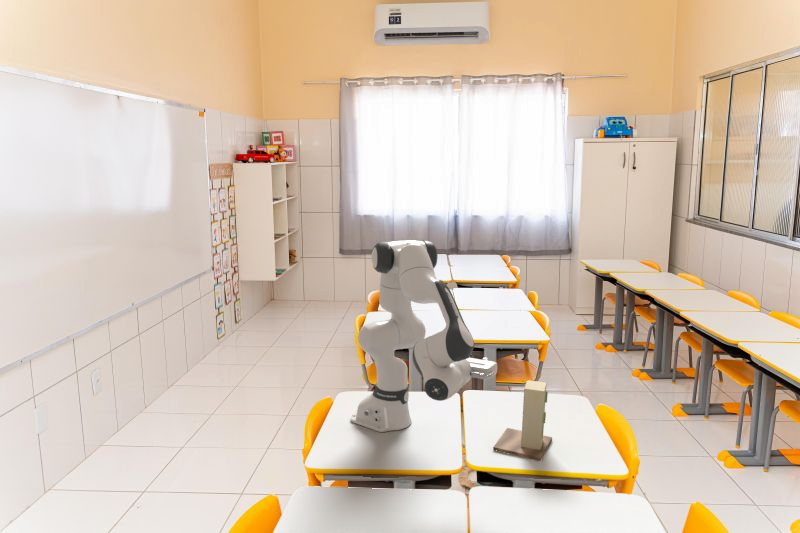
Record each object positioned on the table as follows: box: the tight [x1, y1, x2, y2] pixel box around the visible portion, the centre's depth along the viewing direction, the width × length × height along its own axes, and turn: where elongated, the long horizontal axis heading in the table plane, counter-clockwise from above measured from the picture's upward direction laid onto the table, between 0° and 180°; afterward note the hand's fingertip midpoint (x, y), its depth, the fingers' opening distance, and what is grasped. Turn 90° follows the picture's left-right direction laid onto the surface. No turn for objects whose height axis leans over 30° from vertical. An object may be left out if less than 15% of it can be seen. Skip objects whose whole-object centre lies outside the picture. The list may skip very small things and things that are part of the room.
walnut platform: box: [492, 427, 553, 462], centre depth 215 cm, size 16×16×1 cm
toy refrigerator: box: [521, 380, 549, 450], centre depth 212 cm, size 8×7×21 cm
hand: (472, 357), depth 201 cm, fingers open, 8 cm apart
